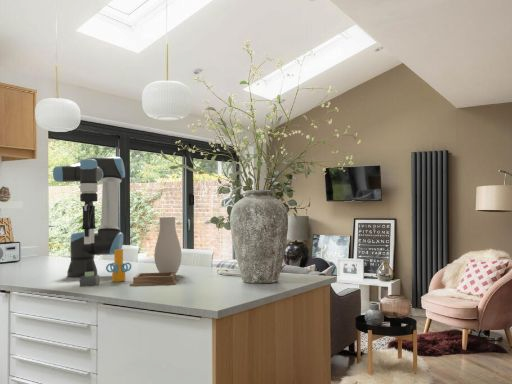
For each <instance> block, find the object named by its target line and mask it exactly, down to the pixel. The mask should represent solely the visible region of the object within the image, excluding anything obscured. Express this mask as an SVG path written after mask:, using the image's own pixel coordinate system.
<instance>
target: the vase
mask: <svg viewBox="0 0 512 384" xmlns="http://www.w3.org/2000/svg"><path fill="white" fill-rule="evenodd" d="M178 237H179V236H178V234H177V229H176V216H161V217H159V230H158V237H157V240H156V242H155V243H156V244H155V248H154V253H153V254H154V263H155V266H156V267H155V268H156V270H157V271H158V273H163V272H175V275H176V274H177V273H178V271H179V268H180V266H181V263H182V248H181V244H180V240H179V238H178Z"/></svg>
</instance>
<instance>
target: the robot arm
mask: <svg viewBox="0 0 512 384" xmlns="http://www.w3.org/2000/svg"><path fill="white" fill-rule="evenodd" d="M52 177H53V180H54V181H55V182H57V183H69V182H75V183H77V182H79V186H78V188H79V191H80V193H79V198H80V199H79V201H80V202H83V203H84V205H82V207H81V208H82V228H81V229H82V230H83V231H81V232H75V233H71V235H70V241H69V242H70V263H69V265H68V269H67V273H66V275H67V277H72V278H80V277H82V276H85V272H94V275H98V268H97V265H96V262H95V256H108V255H110V256H112V255H114V250H117V249H123V245H124V233H123V232H121V229H120V227H118V219H119V193H120V192H119V189H120V188H119V186H120V185H119V184H121V183H122V180H123V179H124V178H125V177H126V170H125V164H124V161H123V158H121V157H120V156H92V157H87V158H84V159H83V158H82V159H80V160H78V161H76V162H75V163H72V164H69V165H68V164H67V165H57V166H54V167H53V170H52ZM98 182H101V184H102V190H101V215H100V216H101V217H100V226H99V227H98V229H97V227H96V212H95V211H96V206H95V205H94V203H95V202H98V191H99V190H98ZM96 229H97V232H95V230H96Z"/></svg>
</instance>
